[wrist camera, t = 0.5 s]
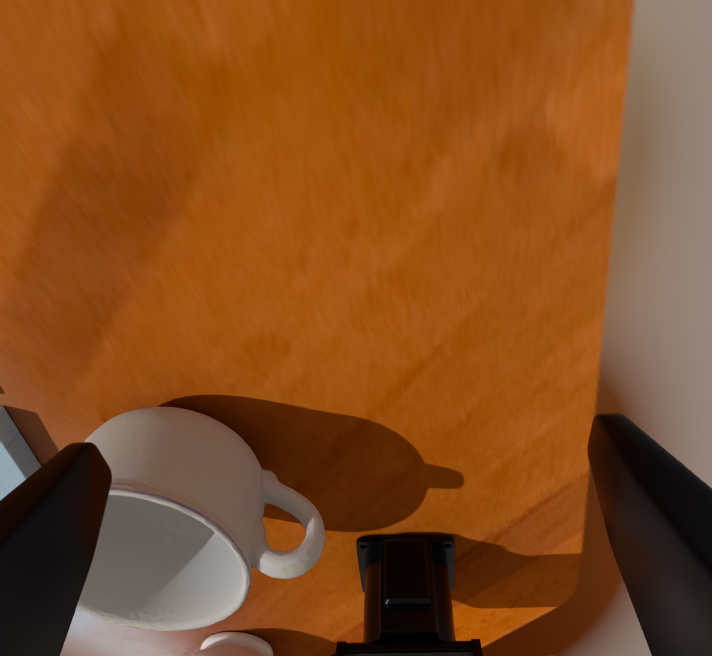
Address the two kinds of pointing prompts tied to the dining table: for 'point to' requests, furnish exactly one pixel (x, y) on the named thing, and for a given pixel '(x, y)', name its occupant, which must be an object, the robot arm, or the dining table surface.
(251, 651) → the flower vase
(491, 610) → the dining table surface
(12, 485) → the light blue flat square
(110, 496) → the teacup
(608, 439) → the robot arm
